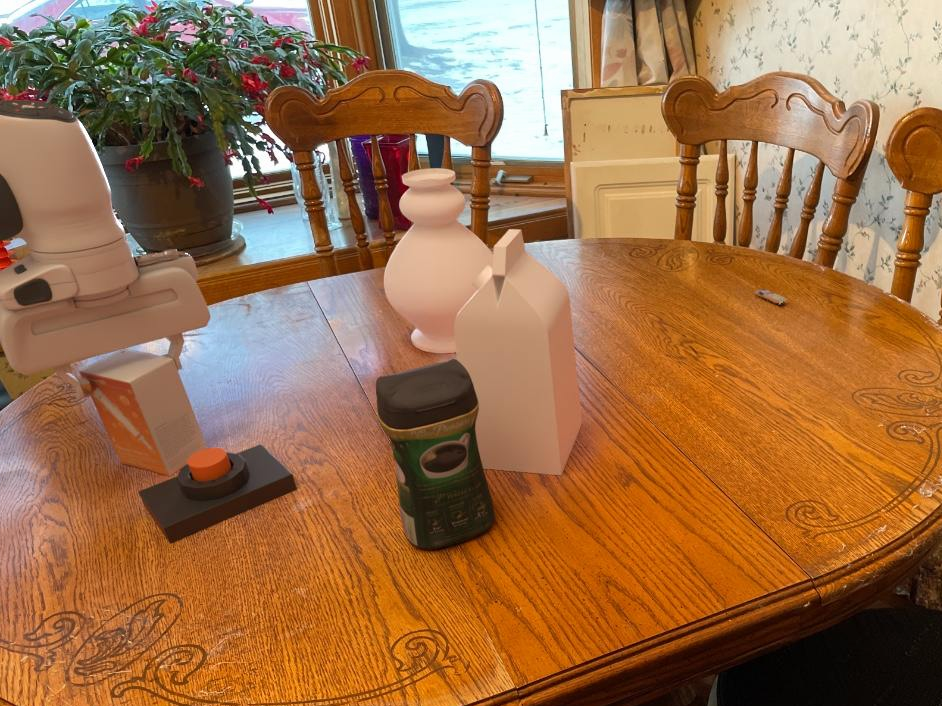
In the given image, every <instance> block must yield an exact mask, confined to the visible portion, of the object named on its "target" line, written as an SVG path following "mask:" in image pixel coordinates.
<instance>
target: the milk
mask: <svg viewBox="0 0 942 706" xmlns="http://www.w3.org/2000/svg"><path fill="white" fill-rule="evenodd" d="M522 231H523V230H522V229H516V228H515V229H514V228H512V229H511V228H510V229H508V230H507V231H506V232H505V234H503V236H502V237H501V238H500V239H499V240H498V241H497V242H496V243H495V244H494V246H493V252H492V254H493V268H491V267H490V266H489V265H487V267H486V268H485V269H484V270H483V271H482V272H481V274H480V275H479V276H478V277H477V278H476V279H475V281H474V282H473V283H472V285H474V286H475V287H476V288H477V289H478V290H477V291H476V292H475V293H474V295H473V296H472V297H471V298H470V299H469V301H468V302H467V303H466V304H465V305H464V307H463V308H462V309H461V310H460V311H459V313H458V314H457V317H456V321H455V324H454V333H455V343H456V352H455V353H456V360H458V361H459V362H460V363H461V364H462V365H463V366H464V367H465V368H466V370H467V371H468V373H469V375H470V377H471V380H472V382H473V385H474V389H475V392H476V395H477V399H478V402H479V411H478V415H477V419H476V424H475V430H476V438H477V445H478V450H479V454H480V458H481V462H482V466H483V470H490V469H492V470H491V471H502V470H503V471H504V472H514V471H515V473H526V472H527V473H528V474H538V475H539V474H540V475H550V476H552V475H553V476H563V473H564V470H565V467H566V466H567V463H568V460H569V458H570V455H571V453H572V450H573V448H574V445H575V443H576V441H577V438H578V435H579V433H580V430H581V427H582V424H583V417H582V408H581V407H582V406H581V399H580V388H579V379H578V377H579V376H578V368H577V359H576V349H575V339H574V329H573V320H572V312H571V311H572V307H571V299H570V294H569V291H568V289H567V287H566V285H565V284H564V283H563V282H562V281H561V280H560V278H558V277H557V276H556V275H555V274H554V273H553V272H551V271H550V270H549V269H547V267H545V265H543V264H541V262H539V261H538V260H537V259H536V258H535V257H533V256H532V255H531V254H529V252H527V251H526V246H525V242H524V236H523V232H522ZM493 469H494V470H493Z"/></svg>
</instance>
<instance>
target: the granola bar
mask: <svg viewBox="0 0 942 706" xmlns="http://www.w3.org/2000/svg"><path fill="white" fill-rule="evenodd" d="M755 293H757V294H759V295H761V296H764V297H766V298H769V299H771V300H774V301H776V302H779V304H778V305H782V304H781V303H783V301H786V300H788V299H787V298H786V297H784V296H782V295H780V294H777V293H775V292H772V291H770V290H769V289H765V288H761V289H758V290H756V291H753V294H755ZM783 304H784V303H783Z"/></svg>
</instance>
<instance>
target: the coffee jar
mask: <svg viewBox="0 0 942 706" xmlns="http://www.w3.org/2000/svg"><path fill="white" fill-rule="evenodd" d="M375 395H376V414H377V419H378V422H379V425H380V427H381V429H382V430H383V432H384V433H385V434H386V436H387V437H388V439H389V442H390V445H391V449H392V454H393V455H392V456H393V460H394V465H395V473H396V474H395V475H396V484H397V496H398V507H399V514H400V520H401V525H402V530H403V532H404V535H405V536H406V539H408V541H409V542H410V544H411V545H413V546H415V547H417V548H418V549H423V550H425V551H429V550H438V549H442V548H446V547H450V546H453V545H456V544H457V545H458V544H459V543H463V542H465V541H468V540H471V539H473V538H475V537H479V536H480V535H483V534H484V533H486V532H487V531H488V530H490V529H491V528H492V526H493V524H494V523H495V520H496V513H495V506H494V503H493V498H492V494H491V491H490V487H489V483H488V481H487V477H486V474H485V469H483V466H482V462H481V458H480V454H479V450H478V445H477V438H476V430H475V424H476V419H477V415H478V411H479V402H478V399H477V395H476V392H475V389H474V385H473V382H472V380H471V377H470V375H469V373H468V371H467V370H466V368H465V367H464V366H463V365H462V364H461V363H460V362H459V361H458V360H457V358H451V359H449V360H447V361H442V362H436V363H432V364H428V365H425V366H420V367H417V368H412V369H408V370H404V371H400V372H396V373H395V372H394V373H392V374H389V375H381V376H378V377H377V378H376V380H375Z"/></svg>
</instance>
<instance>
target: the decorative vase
mask: <svg viewBox="0 0 942 706" xmlns="http://www.w3.org/2000/svg"><path fill="white" fill-rule="evenodd" d="M456 177H457V176H456V172H455V171H454V170H452V169H449V168H442V167H441V168H440V167H439V168H438V167H436V168H435V167H433V168H422V169H421V168H420V169H415V170H410V171H408V172H406V173H403V174H402V175H401V181H402V184H403V185H405V186H407V187H409V188H408V189H407V190H406V191H405V192H404V193H403V194H402V196H401V197H400V199H399V203H398V205H399V206H398V207H399V210H400V213H401V214H402V216H404V217H405V218H406V219H407V220H409V221H410V222H411V223H412V225H411V226H410V228H409V229H408V230H407V231H406V232H405V234H403V236H402V237H401V238H400V240H399V241H398V243H397V245H396V246H395V247H394V249H393V251H392V253H391V254H390V257H389V258H388V261H387V264H386V266H385V269H384V274H383V288H384V293H385V297H386V299H387V301H388V303H389V304H390V306H391V307H392V308H393V309H394V310H395V311H396V312H397V313H398V314H399V316H401V317H402V318H403V319H404V320H405V321H407V322H408V323H409V324H410V325H412V326H413V327H414V328H415V329H414V330H413V331H412V332H411V335H410V340H411V343H412V345H413V346H414V347H415V348H416V349H418V350H421V351H423V352H426V353H430V354H431V353H432V354H454V353H456V343H455V333H454V324H455V321H456V317H457V314H458V313H459V311H460V310H461V309H462V308H463V307H464V305H465V304H466V303H467V302H468V301H469V299H470V298H471V297H472V296H473V295H474V293H475V292H476V291H477V290H478V289H477V288H476V287H475V286H474V285H472V283H473V282H474V281H475V279H476V278H477V277H478V276H479V275H480V274H481V272H482V271H483V270H484V269H485V268H486V267H487V265H489V266H490V267H491V268H493V252H492V251H491V249H490V248H489V246H487V245H486V244H485V242H484V241H483V240H482V239H480V238H479V237H478V235H476V234H475V233H474V232H473V231H471V230H470V229H469V228H468V227H466V226H465V225H464V224H462V222H460V221H458V218H459V217H460V216H461V215H462V213H463V212H464V210H465V208H466V205H467V202H466V201H467V200H466V198H465V196H464V194H463V193H462V192H461V190H459V189H458V188H457V187H455V186H454V185H452V184H451V183H453V182H454V181H456V179H457V178H456Z"/></svg>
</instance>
